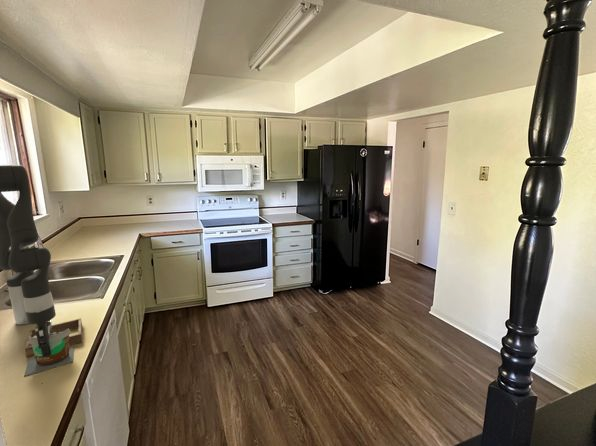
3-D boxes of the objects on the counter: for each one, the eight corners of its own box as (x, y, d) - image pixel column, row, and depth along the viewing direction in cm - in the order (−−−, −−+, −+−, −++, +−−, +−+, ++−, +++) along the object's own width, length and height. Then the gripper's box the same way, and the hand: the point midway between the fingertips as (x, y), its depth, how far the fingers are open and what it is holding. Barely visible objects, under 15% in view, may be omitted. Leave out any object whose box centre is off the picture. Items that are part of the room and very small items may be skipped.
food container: (23, 370, 105) (19, 341, 104) (33, 360, 111) (29, 333, 110) (66, 363, 109) (62, 335, 107) (73, 354, 114) (70, 327, 113)
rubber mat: (28, 360, 112) (28, 359, 112) (73, 348, 119) (73, 347, 119) (24, 376, 104) (24, 375, 104) (72, 362, 111) (72, 361, 111)
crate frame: (31, 338, 126) (30, 330, 125) (82, 325, 135) (80, 318, 134) (26, 357, 114) (24, 348, 113) (82, 342, 123) (80, 333, 122)
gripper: (28, 301, 111) (36, 343, 114) (21, 318, 99) (31, 364, 103) (54, 295, 115) (62, 336, 118) (52, 311, 103) (60, 356, 107)
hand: (48, 349), depth 110 cm, fingers open, 8 cm apart
